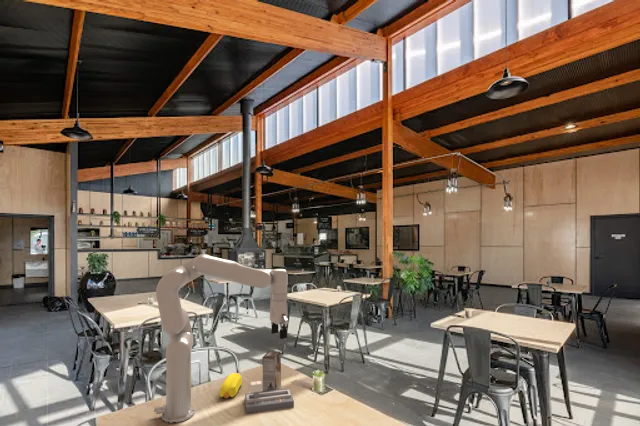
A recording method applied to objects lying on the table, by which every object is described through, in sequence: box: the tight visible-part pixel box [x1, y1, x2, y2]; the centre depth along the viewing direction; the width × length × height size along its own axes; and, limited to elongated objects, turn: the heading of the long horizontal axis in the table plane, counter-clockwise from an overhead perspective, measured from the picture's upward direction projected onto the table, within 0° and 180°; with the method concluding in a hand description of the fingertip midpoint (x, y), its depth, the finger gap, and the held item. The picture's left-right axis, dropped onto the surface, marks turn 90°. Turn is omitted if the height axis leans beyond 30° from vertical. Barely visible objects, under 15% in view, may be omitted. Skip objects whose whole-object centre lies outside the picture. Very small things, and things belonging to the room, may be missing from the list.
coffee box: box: [262, 350, 282, 391], centre depth 167 cm, size 9×6×16 cm
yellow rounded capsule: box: [219, 372, 243, 399], centre depth 164 cm, size 18×7×8 cm
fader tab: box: [250, 380, 263, 399], centre depth 150 cm, size 4×3×6 cm
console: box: [244, 387, 295, 414], centre depth 152 cm, size 20×13×3 cm, turn 104°
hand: (279, 335), depth 154 cm, fingers open, 9 cm apart
